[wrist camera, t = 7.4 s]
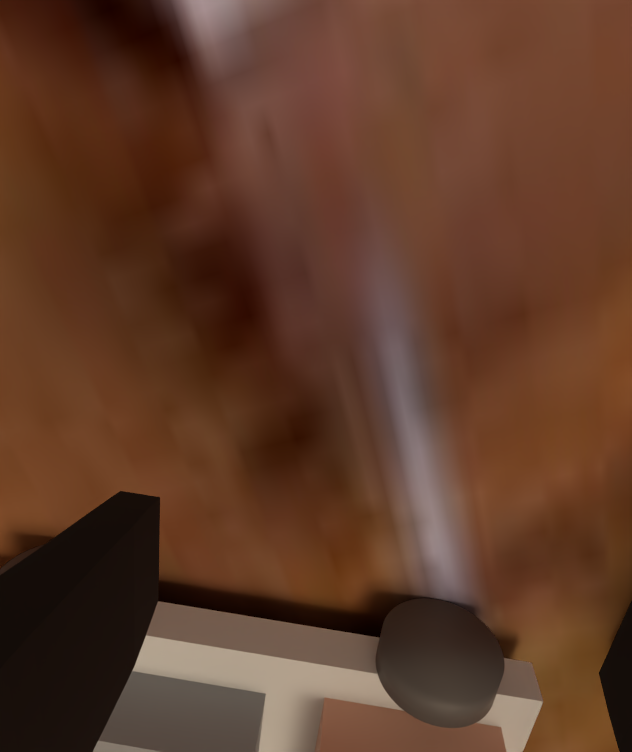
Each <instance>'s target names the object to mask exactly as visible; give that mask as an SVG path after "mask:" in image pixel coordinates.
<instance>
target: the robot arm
mask: <svg viewBox="0 0 632 752" xmlns="http://www.w3.org/2000/svg"><path fill="white" fill-rule="evenodd" d="M159 523H160V497H155V496H148V495H142V494H136V493H129V492H123V491H120V492H118V493H117V494H116V495H114V496H113V497H111V498H110V499H108V500H107V501H105V502H104V503H102V504H101V505H100V506H98V507H97V508H95V509H94V510H92V511H91V512H90V513H88V514H87V515H85V516H84V517H83V518H81V519H80V520H78V521H77V522H76V523H74V524H73V525H71V526H70V527H69V528H67V529H66V530H64V531H63V532H62V533H60V534H59V535H57V536H56V537H55V538H53V539H52V540H50V541H49V542H47V543H46V544H45V545H43V546H42V547H40V548H39V549H37V550H36V551H34V552H33V553H32V554H30V555H29V556H27V557H26V558H24V559H23V560H21V561H20V562H18V563H17V564H15V565H14V566H13V567H11V568H10V569H8V570H7V571H5V572H4V573H2V574H1V575H0V752H93V750H94V748H95V746H96V744H97V742H98V740H99V738H100V736H101V734H102V732H103V730H104V728H105V726H106V724H107V722H108V720H109V718H110V716H111V714H112V712H113V710H114V708H115V706H116V703H117V701H118V699H119V697H120V695H121V693H122V691H123V689H124V687H125V685H126V683H127V681H128V679H129V677H130V675H131V673H132V670H133V668H134V666H135V664H136V661H137V658H138V656H139V653H140V650H141V647H142V645H143V642H144V639H145V637H146V634H147V631H148V628H149V625H150V623H151V620H152V617H153V614H154V611H155V608H156V606H157V603H158V585H159ZM599 675H600V679H601V683H602V687H603V692H604V696H605V700H606V704H607V708H608V712H609V716H610V720H611V723H612V727H613V730H614V734H615V738H616V741H617V745H618V748H619V751H620V752H632V601H631V603H630V606H629V608H628V610H627V612H626V614H625V617H624V619H623V621H622V623H621V625H620V628H619V630H618V632H617V634H616V637H615V639H614V641H613V643H612V645H611V648H610V650H609V652H608V654H607V656H606V659H605V661H604V663H603V665H602V667H601V670H600V672H599Z"/></svg>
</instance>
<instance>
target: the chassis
mask: <svg viewBox="0 0 632 752" xmlns="http://www.w3.org/2000/svg"><path fill="white" fill-rule="evenodd" d="M44 545H45V544H44ZM42 546H43V545H41V546H38V547H35V548H32V549H29V550H27V551H25V552H23V553H21V554H19V555H18V556H16V557H14V558H13V559H11V560H10V561H9V562H7V563H6V564H5V565H4V566H3V567H2V568H1V569H0V575H1V574H2V573H4V572H5V571H7V570H8V569H10V568H11V567H13V566H14V565H15V564H17V563H18V562H20V561H21V560H23V559H24V558H26V557H27V556H29V555H30V554H32V553H33V552H34V551H36V550H37V549H39V548H40V547H42ZM542 704H543V699H542V696H541V692H540V689H539V685H538V682H537V679H536V675H535V672H534V669H533V665H532V663H531V662H525V661H519V660H513V659H507V658H504V656H503V652H502V649H501V647H500V645H499V643H498V641H497V639H496V637H495V636H494V634H493V633H492V632H491V631H490V629H489V628H488V627H487V626H486V625H485V624H484V623H483V622H482V621H481V620H480V619H478V618H477V617H476V616H474V615H473V614H472V613H470V612H468V611H467V610H465V609H463V608H461V607H459V606H457V605H454V604H452V603H449V602H446V601H442V600H437V599H429V598H420V599H413V600H408V601H406V602H403V603H401V604H399V605H397V606H396V607H394V608H393V609H392V610H391V611H390V612H389V613H388V615H387V616H386V618H385V620H384V622H383V626H382V630H381V635H380V638H379V637H373V636H367V635H361V634H354V633H348V632H342V631H336V630H330V629H324V628H318V627H312V626H306V625H300V624H294V623H288V622H281V621H275V620H269V619H263V618H257V617H251V616H245V615H239V614H233V613H227V612H221V611H215V610H208V609H202V608H196V607H190V606H184V605H178V604H172V603H166V602H160V601H158V603H157V606H156V608H155V611H154V614H153V617H152V620H151V623H150V625H149V628H148V631H147V634H146V637H145V639H144V642H143V645H142V647H141V650H140V653H139V656H138V658H137V661H136V664H135V666H134V668H133V670H132V673H131V675H130V677H129V679H128V681H127V683H126V685H125V687H124V689H123V691H122V693H121V695H120V697H119V699H118V701H117V703H116V706H115V708H114V710H113V712H112V714H111V716H110V718H109V720H108V722H107V724H106V726H105V728H104V730H103V732H102V734H101V736H100V738H99V740H98V742H97V744H96V746H95V748H94V750H93V752H523V750H524V748H525V745H526V743H527V740H528V738H529V735H530V733H531V731H532V728H533V726H534V723H535V721H536V718H537V716H538V713H539V711H540V709H541V706H542Z"/></svg>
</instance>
